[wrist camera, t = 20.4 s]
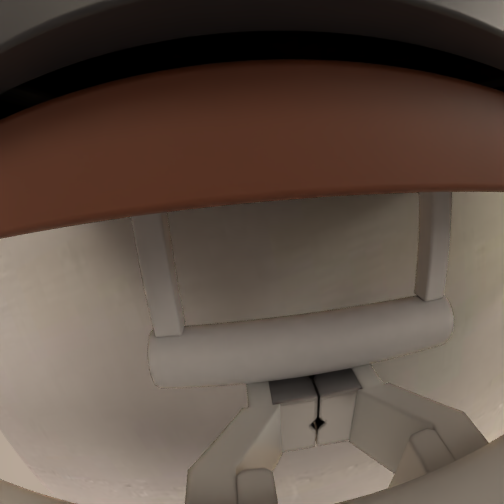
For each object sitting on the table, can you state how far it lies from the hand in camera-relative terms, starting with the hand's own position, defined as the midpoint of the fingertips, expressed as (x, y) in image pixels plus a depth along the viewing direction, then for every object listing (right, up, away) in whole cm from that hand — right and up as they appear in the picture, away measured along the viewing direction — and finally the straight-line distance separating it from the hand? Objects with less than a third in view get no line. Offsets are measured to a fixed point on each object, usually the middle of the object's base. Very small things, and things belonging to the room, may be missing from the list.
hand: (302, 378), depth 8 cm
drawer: (-1, +10, 0) cm, 10 cm away
